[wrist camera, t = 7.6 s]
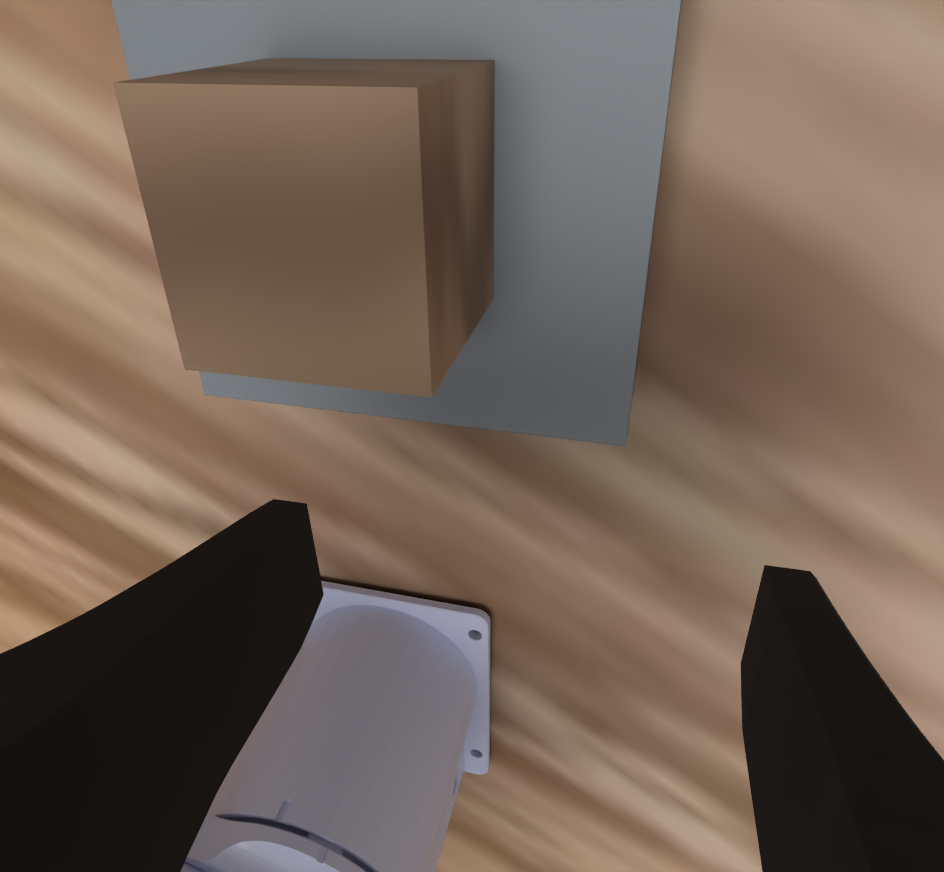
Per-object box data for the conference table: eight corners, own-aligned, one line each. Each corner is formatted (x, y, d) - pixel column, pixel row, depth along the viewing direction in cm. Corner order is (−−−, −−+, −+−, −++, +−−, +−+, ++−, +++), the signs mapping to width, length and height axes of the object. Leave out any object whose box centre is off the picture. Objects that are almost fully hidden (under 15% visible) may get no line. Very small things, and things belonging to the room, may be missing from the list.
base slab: (631, 399, 20) (625, 446, 18) (248, 358, 23) (204, 394, 21) (699, -146, 14) (701, -170, 12) (155, -117, 16) (79, -133, 14)
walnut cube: (493, 298, 17) (431, 397, 13) (299, 282, 18) (185, 369, 14) (494, 59, 14) (416, 87, 10) (267, 58, 15) (113, 82, 11)
